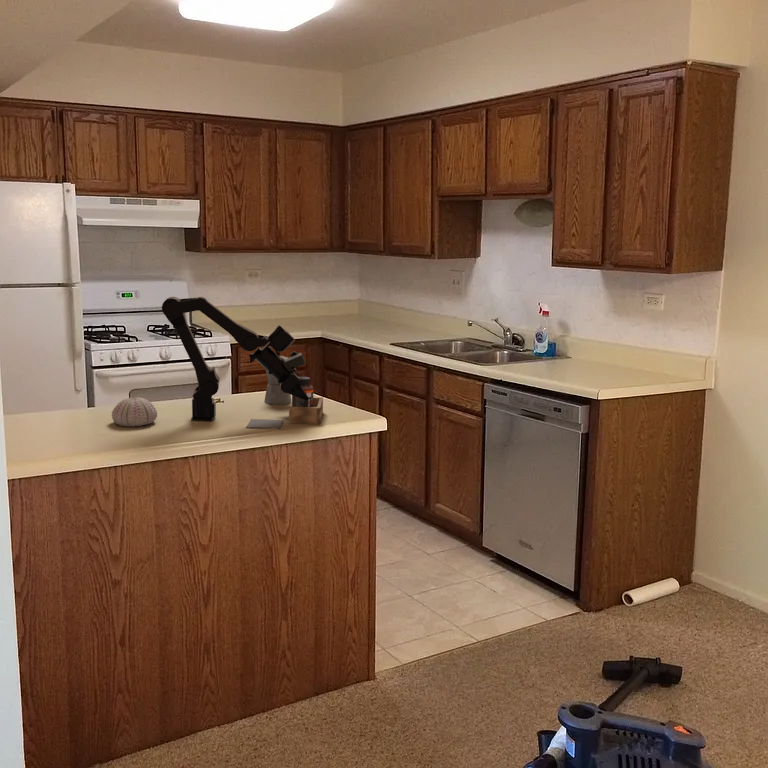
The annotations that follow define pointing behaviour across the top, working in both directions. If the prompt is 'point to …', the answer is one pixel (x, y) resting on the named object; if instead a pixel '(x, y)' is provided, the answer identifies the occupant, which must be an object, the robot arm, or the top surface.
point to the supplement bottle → (307, 389)
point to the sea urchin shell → (134, 412)
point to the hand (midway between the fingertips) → (307, 397)
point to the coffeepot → (276, 390)
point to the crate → (307, 412)
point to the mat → (264, 423)
